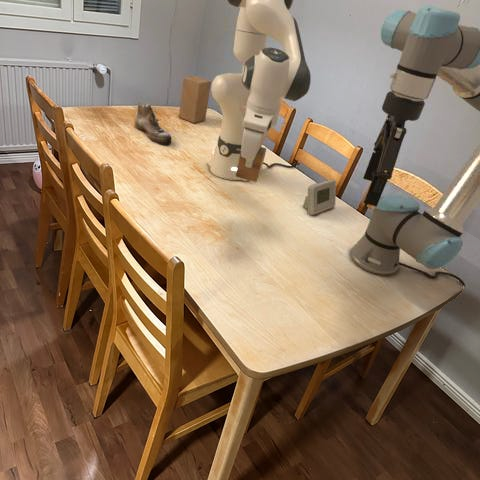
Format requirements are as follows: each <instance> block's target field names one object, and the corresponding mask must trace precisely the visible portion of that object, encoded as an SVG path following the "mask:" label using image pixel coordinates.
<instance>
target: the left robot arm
mask: <svg viewBox="0 0 480 480" xmlns="http://www.w3.org/2000/svg"><path fill="white" fill-rule="evenodd" d="M294 1H295V0H227V2H228V4H229V5H231V6H233V7H235V8H239V12H238V16H237V20H236V24H235V25H236V26H235V34H234V41H233V49H232V51H233V55H234V57H235V58H236V60H238V62H240V63H241V67H242V72H241V73H240V72H239V73H238V72H227V73H222V74H218V75H216V76H215V77H214V78H213V80H212V81H211V86H210V91H211V96H212V98H213V100H214V101H215V102H216V103H217V104H218V105H219V108H220V110H221V116H222V118H221V120H222V121H221V127H220V135H219V136H218V139H217V145H216V146H215V147H214V149H213V151H212V157H211V160H209V161H208V164H207V165H208V166H209V170H210V172H211V173H212V174H213V175H215V176H216V177H218V178H220V179H225V180H229V181H242V182H247V181H248V180H246V179H243V178H239V177H236V172H237V167H238V162H239V157H240V153H241V156H242V157H243V158H246V164H245V166H246V167H248V168H251V167H252V165H253V160H254V158H255V157H256V155H257V153H258V151H259V150H260V148H261V147H262V146H263V145H264V143H265V141H266V139H267V138H268V133H269V131H271V129H272V128H274V127H276V126H277V124H278V119H279V115H280V111H281V107H282V99H284V100H288V101H292V102H296V101H299V100H301V99H302V98H303V97H305V96H306V95H307V94H308V93H309V90H310V86H311V79H312V78H311V77H312V76H311V71H310V68H309V66H308V63H307V61H306V56H305V52H304V48H303V42H302V38H301V33H300V29H299V25H298V22H297V19H296V18H295V17H294V16H293V15H292V14H291V12H290V11H289V10H290V9H291V7H292V5H293V4H294ZM268 37H269V38H272V39H274V40H275V41H276V42H277V43H279V44H280V45H282V47H283V49H284V51H283V50H281V49H279V48H276V47H266V45H267V39H268ZM244 108H245V109H244ZM244 111H245V112H244ZM297 165H298V166H300V163H299V162H295V163H294V164H293V165H287V164H284V163H280V162H274V163H271V164H270V165H269V164H268V163H266V162H264V161H263V166H266V168H268V169H270V168H272V167H274V166H281V167H285V168H290V169H291V168H295V167H296V166H297Z"/></svg>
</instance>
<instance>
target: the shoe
mask: <svg viewBox="0 0 480 480" xmlns="http://www.w3.org/2000/svg"><path fill="white" fill-rule="evenodd" d="M155 113H156V114H158V111H157V110H153V108H152V105H151V104H148V103H146V102H144V104H141V103H140V102H138V106H137V108H136V112H135V117H134V127H135V128H137V129H139V130H140V131H142V132H144V133H146V134H147V137H148V138H149V140H151V141H152V142H155V143H157V144H160V145H171V143H172V136H171V134H170V133H169V132H168V131H166V130H165V129H163V128H162V127H161V126H160V123H159V119H158V118H156V115H155Z"/></svg>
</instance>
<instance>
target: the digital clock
mask: <svg viewBox="0 0 480 480" xmlns="http://www.w3.org/2000/svg"><path fill="white" fill-rule="evenodd" d="M336 189H337V185H336V179H334V178H330V179H325V180H321V181H319V182H315V183H314V184H311V185H309V186H308V187H307V196H305V198H304V201H303V204H302V207H303V208H304V209H307V213H308V214H309V215H310V216H313V215H317V214H320V213H322V212H325V211H328V210H329V209H331V208H334V207H335V206H336V201H337V198H336V196H337V195H336V194H337V190H336Z"/></svg>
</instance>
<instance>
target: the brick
mask: <svg viewBox="0 0 480 480" xmlns="http://www.w3.org/2000/svg"><path fill="white" fill-rule="evenodd" d="M266 153H267V148H266V147H264V146H263V147H262V146H261V148H260V150H259V151H258V153H257V155H256V157H255V158H254V160H253V165H252V167H251V168H248V167H246V166H245V164H246V158H243V157H242V156H241V153H240V157H239V162H238V167H237V172H236V177H239V178H243V179H246V180H247V181H249V182H254V183H257V182H258V181H259V179H260V177H261V173H262V169H263V166H264V164H263V162H264V161H265V157H266Z"/></svg>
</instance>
